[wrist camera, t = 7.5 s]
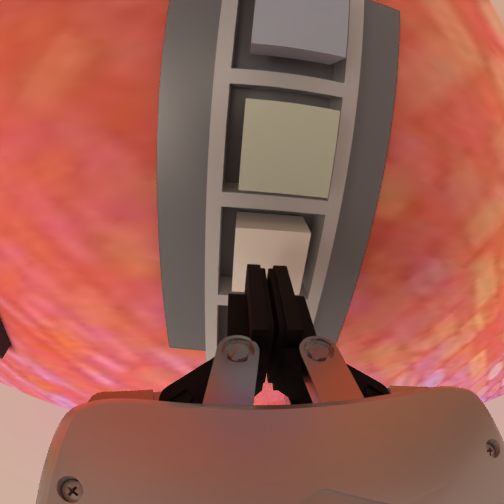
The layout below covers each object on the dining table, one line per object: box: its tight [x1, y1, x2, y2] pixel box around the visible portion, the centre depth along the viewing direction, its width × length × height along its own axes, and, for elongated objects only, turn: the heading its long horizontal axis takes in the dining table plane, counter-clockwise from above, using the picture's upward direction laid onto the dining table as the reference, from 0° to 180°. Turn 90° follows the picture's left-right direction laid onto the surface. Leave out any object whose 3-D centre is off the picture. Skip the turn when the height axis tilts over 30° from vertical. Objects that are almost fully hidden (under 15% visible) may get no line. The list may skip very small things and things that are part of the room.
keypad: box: [157, 0, 400, 362], centre depth 17 cm, size 27×14×3 cm, turn 175°
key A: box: [238, 98, 340, 198], centre depth 13 cm, size 4×4×2 cm
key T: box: [250, 0, 349, 65], centre depth 10 cm, size 4×4×2 cm
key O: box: [232, 212, 311, 295], centre depth 17 cm, size 4×4×2 cm
